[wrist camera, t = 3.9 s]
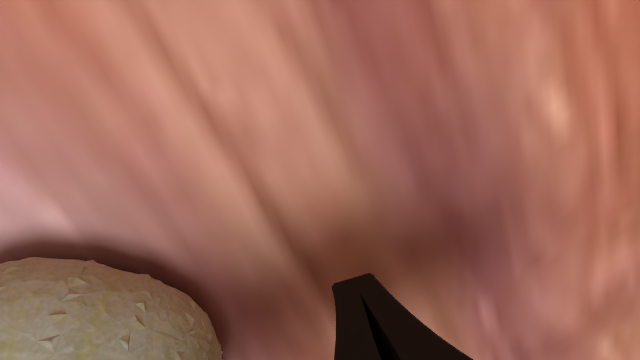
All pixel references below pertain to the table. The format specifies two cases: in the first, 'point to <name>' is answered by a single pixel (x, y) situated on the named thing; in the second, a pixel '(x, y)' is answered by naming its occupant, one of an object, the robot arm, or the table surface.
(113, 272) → the sea urchin shell
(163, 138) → the table surface
